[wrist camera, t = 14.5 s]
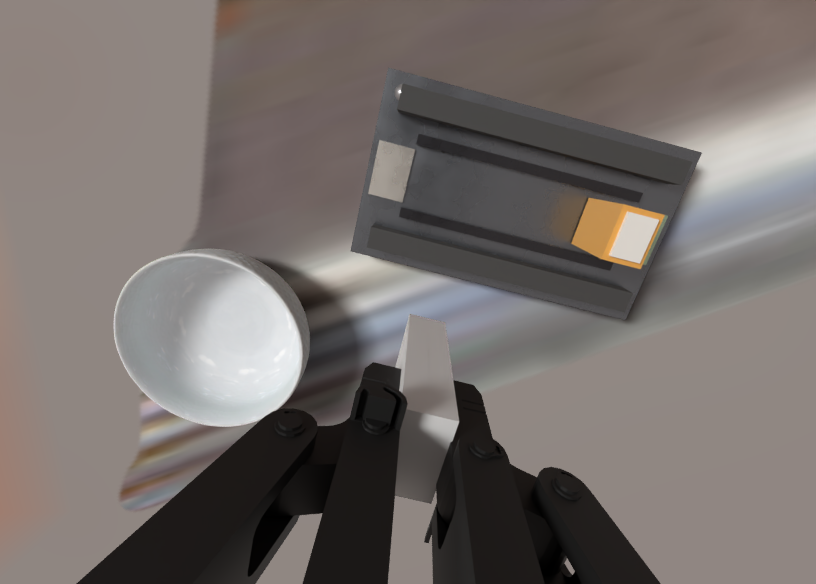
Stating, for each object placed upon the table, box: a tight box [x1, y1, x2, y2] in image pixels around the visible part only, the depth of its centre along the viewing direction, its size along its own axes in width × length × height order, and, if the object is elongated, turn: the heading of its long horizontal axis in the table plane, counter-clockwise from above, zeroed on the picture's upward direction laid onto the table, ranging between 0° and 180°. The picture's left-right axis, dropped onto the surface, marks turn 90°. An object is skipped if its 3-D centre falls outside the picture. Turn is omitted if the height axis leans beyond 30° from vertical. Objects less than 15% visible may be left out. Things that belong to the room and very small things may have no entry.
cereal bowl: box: [114, 249, 310, 427], centre depth 37 cm, size 17×17×7 cm
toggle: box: [571, 198, 665, 269], centre depth 30 cm, size 4×3×6 cm
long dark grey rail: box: [397, 84, 692, 185], centre depth 31 cm, size 2×23×2 cm, turn 76°
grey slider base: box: [351, 68, 702, 320], centre depth 34 cm, size 15×26×4 cm, turn 76°
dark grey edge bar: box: [367, 224, 633, 312], centre depth 34 cm, size 2×23×2 cm, turn 76°
